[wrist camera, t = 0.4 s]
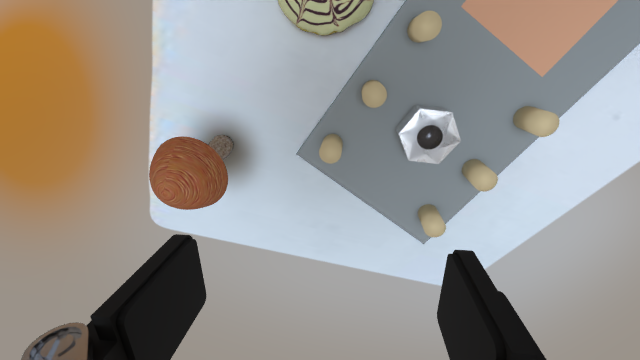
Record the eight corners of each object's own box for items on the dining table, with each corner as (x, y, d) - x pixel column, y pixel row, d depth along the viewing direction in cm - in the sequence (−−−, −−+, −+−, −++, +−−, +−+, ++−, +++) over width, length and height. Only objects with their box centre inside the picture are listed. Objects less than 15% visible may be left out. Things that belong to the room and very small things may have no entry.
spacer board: (548, -200, 25) (583, -246, 21) (712, -27, 28) (769, -40, 24) (296, 153, 40) (290, 164, 36) (423, 243, 43) (430, 261, 39)
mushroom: (251, 181, 42) (200, 242, 28) (196, 165, 42) (118, 219, 28) (261, 127, 39) (209, 166, 25) (202, 110, 39) (117, 140, 25)
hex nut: (425, 92, 35) (431, 95, 32) (463, 123, 36) (473, 128, 33) (386, 139, 37) (388, 145, 35) (422, 166, 38) (428, 175, 35)
